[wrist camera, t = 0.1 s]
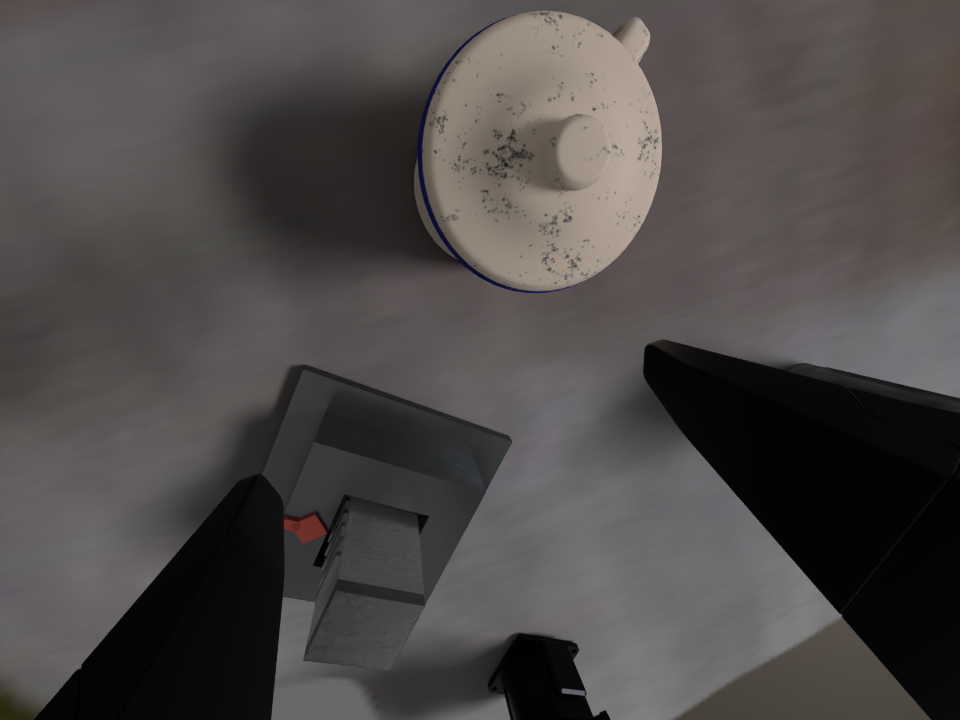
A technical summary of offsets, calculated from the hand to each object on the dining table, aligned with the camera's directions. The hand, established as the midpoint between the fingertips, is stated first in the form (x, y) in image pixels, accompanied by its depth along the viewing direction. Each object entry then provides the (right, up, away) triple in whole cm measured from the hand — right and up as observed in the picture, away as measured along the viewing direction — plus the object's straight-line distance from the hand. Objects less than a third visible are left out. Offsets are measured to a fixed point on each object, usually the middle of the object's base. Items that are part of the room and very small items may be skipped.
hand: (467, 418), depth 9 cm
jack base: (-7, -8, +18) cm, 20 cm away
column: (-7, -8, +18) cm, 20 cm away
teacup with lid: (+2, +12, +13) cm, 18 cm away
